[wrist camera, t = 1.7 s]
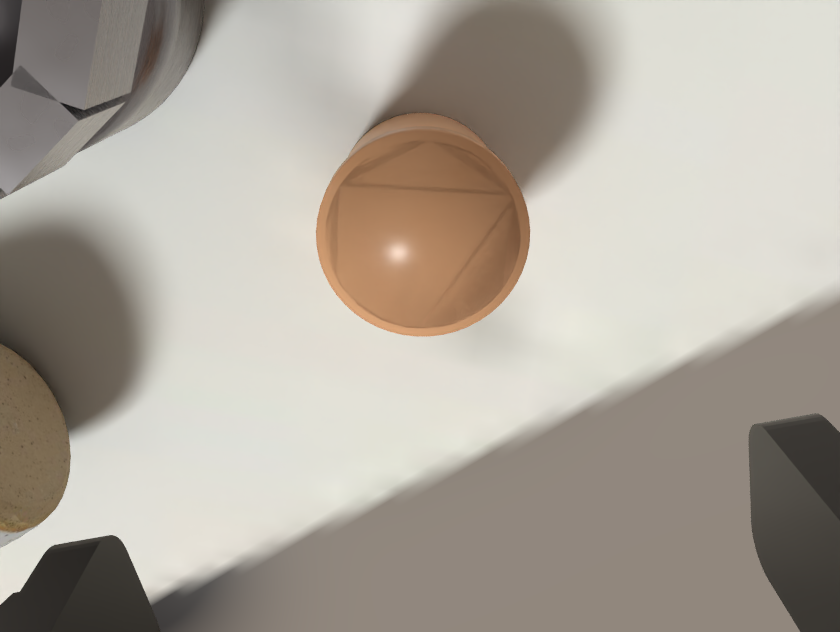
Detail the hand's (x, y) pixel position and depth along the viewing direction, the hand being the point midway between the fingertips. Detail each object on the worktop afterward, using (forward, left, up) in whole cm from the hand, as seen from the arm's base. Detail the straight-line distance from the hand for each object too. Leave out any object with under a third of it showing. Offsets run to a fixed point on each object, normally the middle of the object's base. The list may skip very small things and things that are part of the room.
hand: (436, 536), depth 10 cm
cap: (0, 0, -18) cm, 18 cm away
